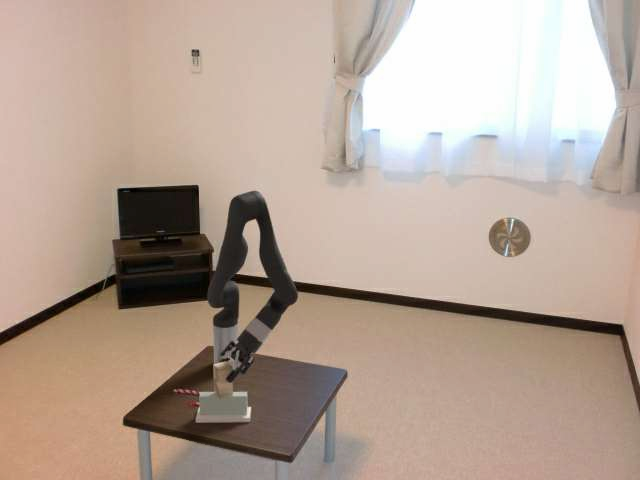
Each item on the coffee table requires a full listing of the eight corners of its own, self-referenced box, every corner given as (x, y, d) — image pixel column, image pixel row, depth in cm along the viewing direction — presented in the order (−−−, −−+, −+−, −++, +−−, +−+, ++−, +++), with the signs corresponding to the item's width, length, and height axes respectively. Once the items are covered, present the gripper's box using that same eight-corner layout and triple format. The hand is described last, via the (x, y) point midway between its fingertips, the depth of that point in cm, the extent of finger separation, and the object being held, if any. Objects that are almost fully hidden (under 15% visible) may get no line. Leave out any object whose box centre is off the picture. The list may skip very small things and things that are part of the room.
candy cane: (180, 385, 221) (214, 395, 214) (180, 388, 221) (214, 399, 214) (164, 394, 214) (199, 405, 207) (165, 397, 214) (199, 409, 207)
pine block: (214, 392, 201) (213, 364, 198) (226, 389, 203) (226, 361, 201) (220, 398, 197) (219, 369, 195) (232, 395, 200) (232, 366, 197)
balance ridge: (199, 411, 205) (198, 389, 203) (251, 410, 206) (250, 388, 204) (195, 422, 198) (195, 399, 196) (249, 422, 199) (249, 399, 197)
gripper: (237, 321, 205) (205, 361, 202) (257, 336, 194) (223, 379, 191) (252, 333, 210) (221, 372, 206) (272, 349, 198) (239, 390, 195)
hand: (222, 376), depth 199 cm, fingers open, 8 cm apart
